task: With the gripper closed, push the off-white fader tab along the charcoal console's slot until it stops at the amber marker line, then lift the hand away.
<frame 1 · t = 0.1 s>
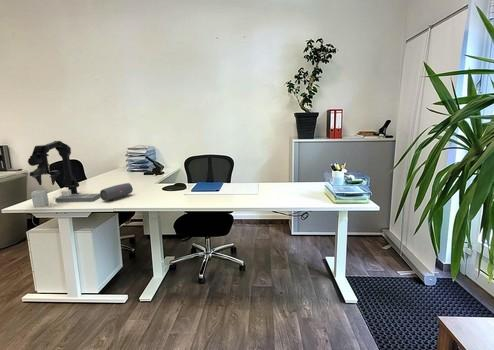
hand: (46, 185, 218), 15 cm above the table, tool pointing down, fingers open, 9 cm apart
fader tab: (66, 193, 232), point 5 cm above the table, slide at -9.0 cm
console: (78, 199, 232), on the table
bluetooth speaker: (117, 198, 233), on the table
small box: (41, 205, 221), on the table
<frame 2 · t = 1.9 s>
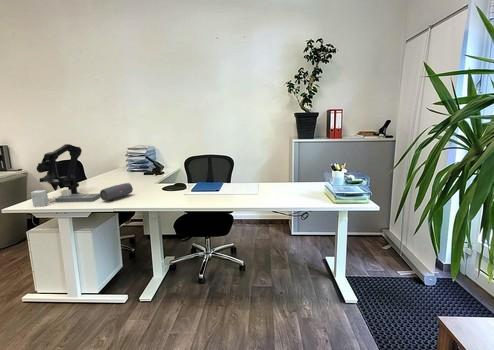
hand: (55, 190, 232), 8 cm above the table, tool pointing down, fingers closed
nothing on the table moved.
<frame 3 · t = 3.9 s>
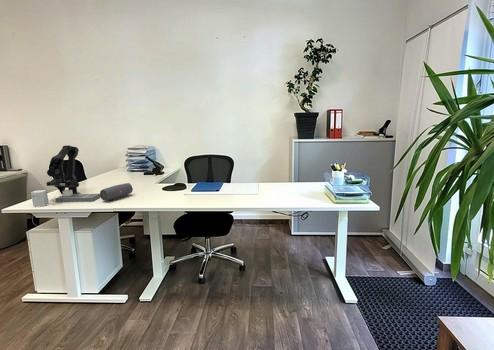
hand: (62, 194, 232), 5 cm above the table, tool pointing down, fingers closed
fader tab: (67, 193, 232), point 5 cm above the table, slide at -7.9 cm, touching gripper
everything else where it was.
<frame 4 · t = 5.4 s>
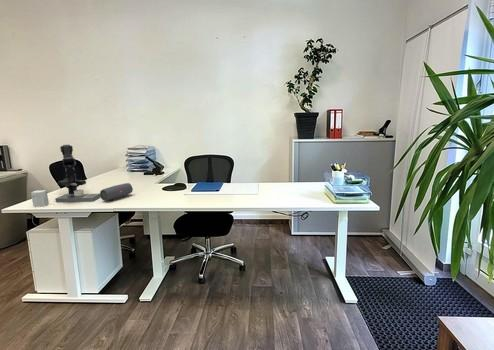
hand: (73, 194, 232), 5 cm above the table, tool pointing down, fingers closed
fader tab: (78, 192, 231), point 5 cm above the table, slide at 0.8 cm, touching gripper
everything else where it was.
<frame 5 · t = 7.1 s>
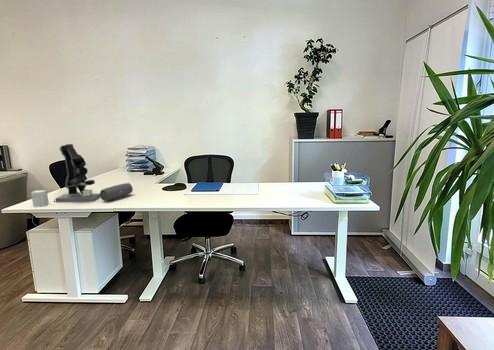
hand: (82, 193, 231), 5 cm above the table, tool pointing down, fingers closed
fader tab: (87, 192, 231), point 5 cm above the table, slide at 7.5 cm, touching gripper
everything else where it was.
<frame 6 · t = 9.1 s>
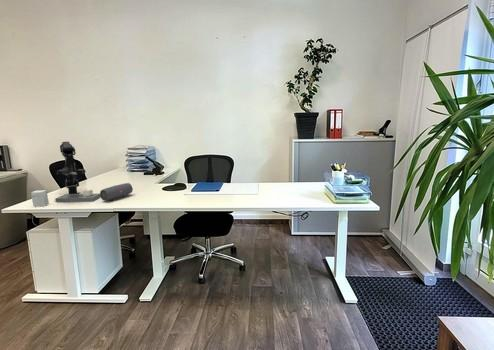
hand: (73, 183, 231), 13 cm above the table, tool pointing down, fingers closed
fader tab: (87, 192, 231), point 5 cm above the table, slide at 7.7 cm
everything else where it was.
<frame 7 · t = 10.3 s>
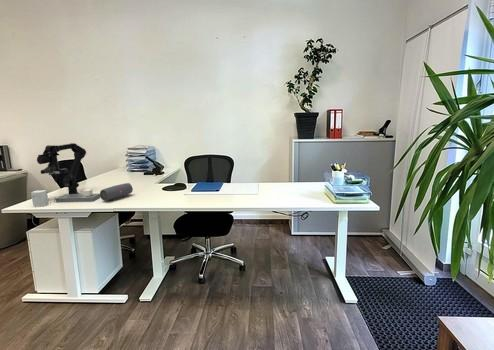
hand: (56, 182, 235), 13 cm above the table, tool pointing down, fingers closed
nothing on the table moved.
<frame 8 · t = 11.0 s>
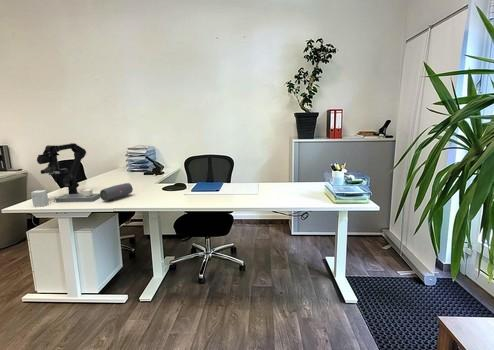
hand: (56, 182, 235), 13 cm above the table, tool pointing down, fingers closed
nothing on the table moved.
at the end: fader tab slide at 7.7 cm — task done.
